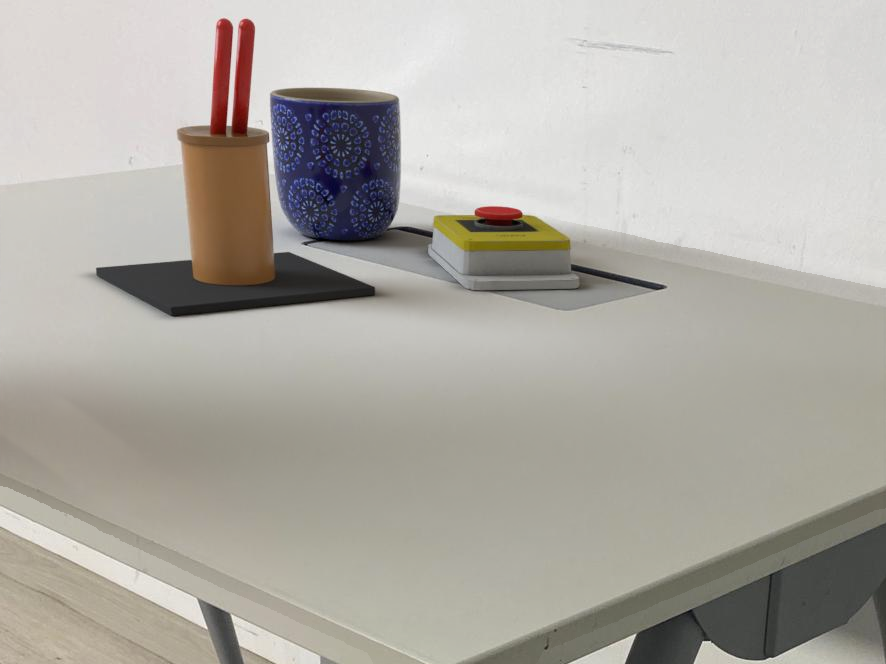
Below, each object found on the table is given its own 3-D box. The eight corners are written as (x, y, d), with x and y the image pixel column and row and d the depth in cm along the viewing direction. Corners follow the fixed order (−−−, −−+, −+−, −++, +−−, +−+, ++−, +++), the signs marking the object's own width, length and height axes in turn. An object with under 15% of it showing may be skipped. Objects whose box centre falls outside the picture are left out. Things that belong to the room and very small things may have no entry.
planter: (255, 227, 127) (245, 88, 121) (361, 219, 133) (356, 86, 127) (318, 250, 120) (310, 103, 114) (426, 240, 126) (425, 100, 120)
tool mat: (171, 316, 98) (170, 307, 98) (96, 275, 108) (95, 267, 107) (375, 294, 107) (375, 286, 107) (289, 259, 116) (289, 251, 116)
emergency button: (531, 196, 122) (585, 229, 110) (529, 250, 125) (582, 288, 113) (424, 196, 120) (468, 230, 108) (425, 251, 122) (468, 290, 110)
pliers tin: (216, 291, 103) (193, 18, 94) (176, 272, 108) (150, 10, 98) (297, 284, 106) (282, 19, 97) (255, 265, 111) (237, 11, 102)
